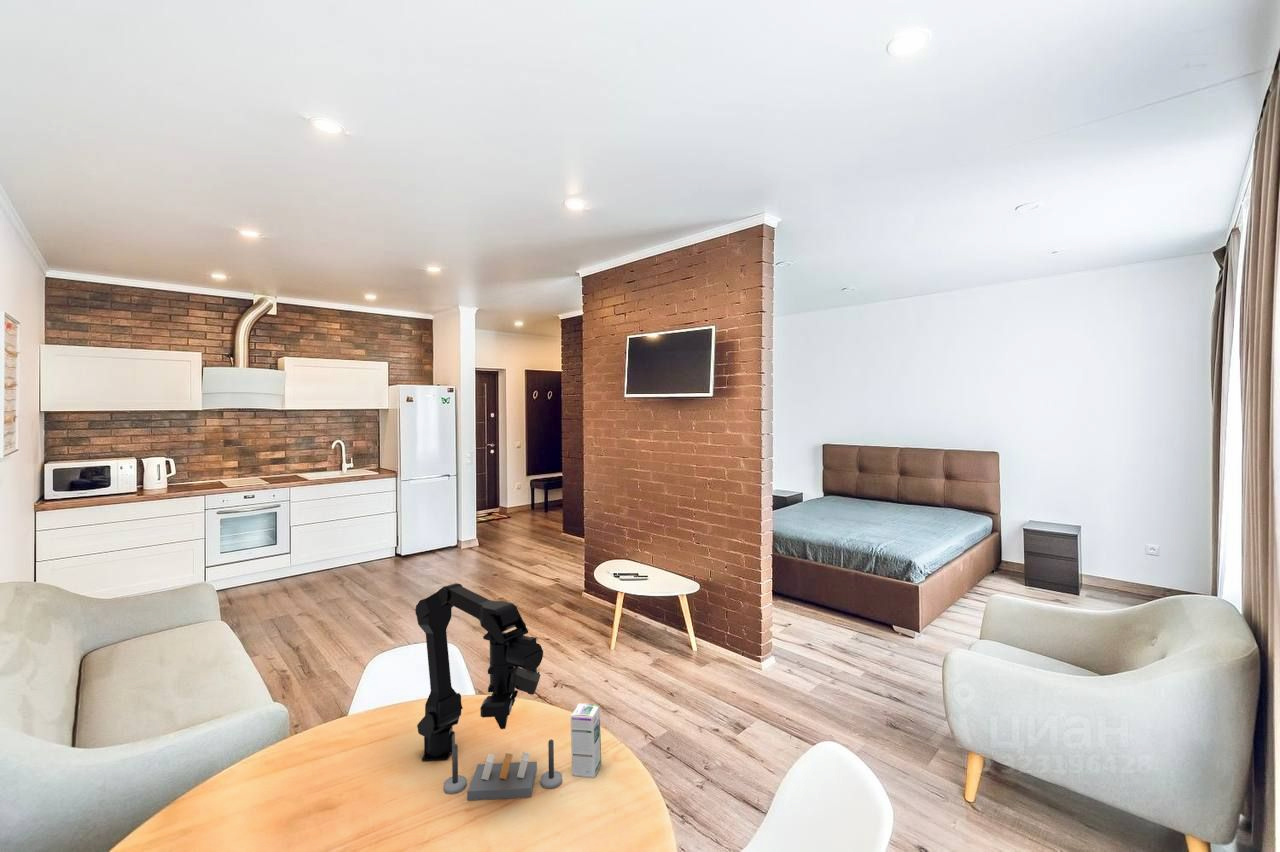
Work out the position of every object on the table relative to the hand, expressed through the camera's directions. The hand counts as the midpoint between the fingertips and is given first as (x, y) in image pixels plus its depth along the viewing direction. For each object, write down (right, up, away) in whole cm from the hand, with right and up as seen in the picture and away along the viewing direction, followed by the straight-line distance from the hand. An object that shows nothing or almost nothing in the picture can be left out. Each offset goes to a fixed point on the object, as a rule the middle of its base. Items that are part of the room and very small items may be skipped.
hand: (503, 728), depth 126 cm
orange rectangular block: (0, -11, 0) cm, 11 cm away
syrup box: (+19, -13, +5) cm, 23 cm away
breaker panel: (0, -13, 0) cm, 13 cm away
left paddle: (-4, -11, 0) cm, 12 cm away
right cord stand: (+11, -13, 0) cm, 17 cm away
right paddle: (+4, -11, 0) cm, 12 cm away
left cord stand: (-11, -13, -1) cm, 17 cm away
